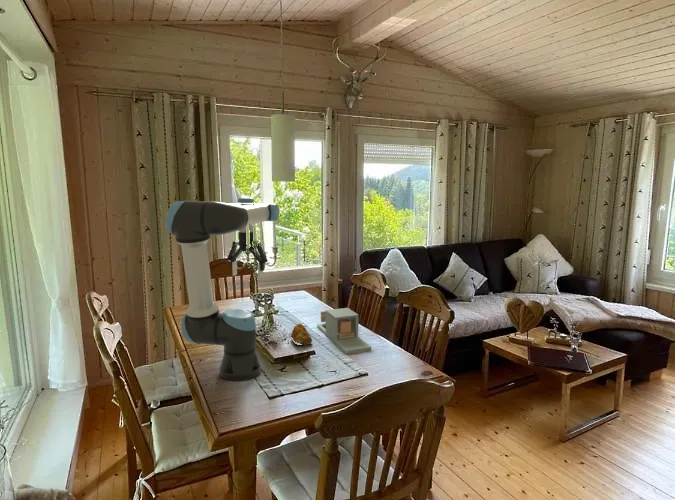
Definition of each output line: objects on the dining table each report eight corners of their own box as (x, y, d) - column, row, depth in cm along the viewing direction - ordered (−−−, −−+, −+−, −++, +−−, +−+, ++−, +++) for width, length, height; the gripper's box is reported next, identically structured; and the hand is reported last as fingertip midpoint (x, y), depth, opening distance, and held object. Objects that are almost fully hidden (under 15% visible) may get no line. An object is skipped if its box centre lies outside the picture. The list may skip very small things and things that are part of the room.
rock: (310, 349, 194) (315, 339, 186) (294, 355, 190) (298, 346, 182) (300, 328, 199) (305, 318, 191) (284, 334, 195) (288, 324, 187)
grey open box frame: (354, 336, 193) (354, 325, 193) (338, 339, 191) (338, 327, 190) (333, 320, 217) (333, 310, 217) (319, 321, 215) (319, 311, 214)
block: (350, 334, 194) (351, 321, 193) (340, 335, 192) (340, 322, 191) (345, 329, 199) (345, 317, 198) (335, 331, 197) (335, 318, 196)
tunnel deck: (371, 350, 183) (371, 323, 181) (345, 354, 178) (346, 326, 176) (339, 324, 216) (339, 301, 214) (317, 327, 211) (317, 304, 209)
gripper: (274, 231, 195) (275, 276, 199) (227, 229, 203) (229, 272, 207) (266, 233, 188) (267, 280, 192) (218, 230, 196) (220, 275, 200)
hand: (247, 276), depth 199 cm, fingers open, 13 cm apart
